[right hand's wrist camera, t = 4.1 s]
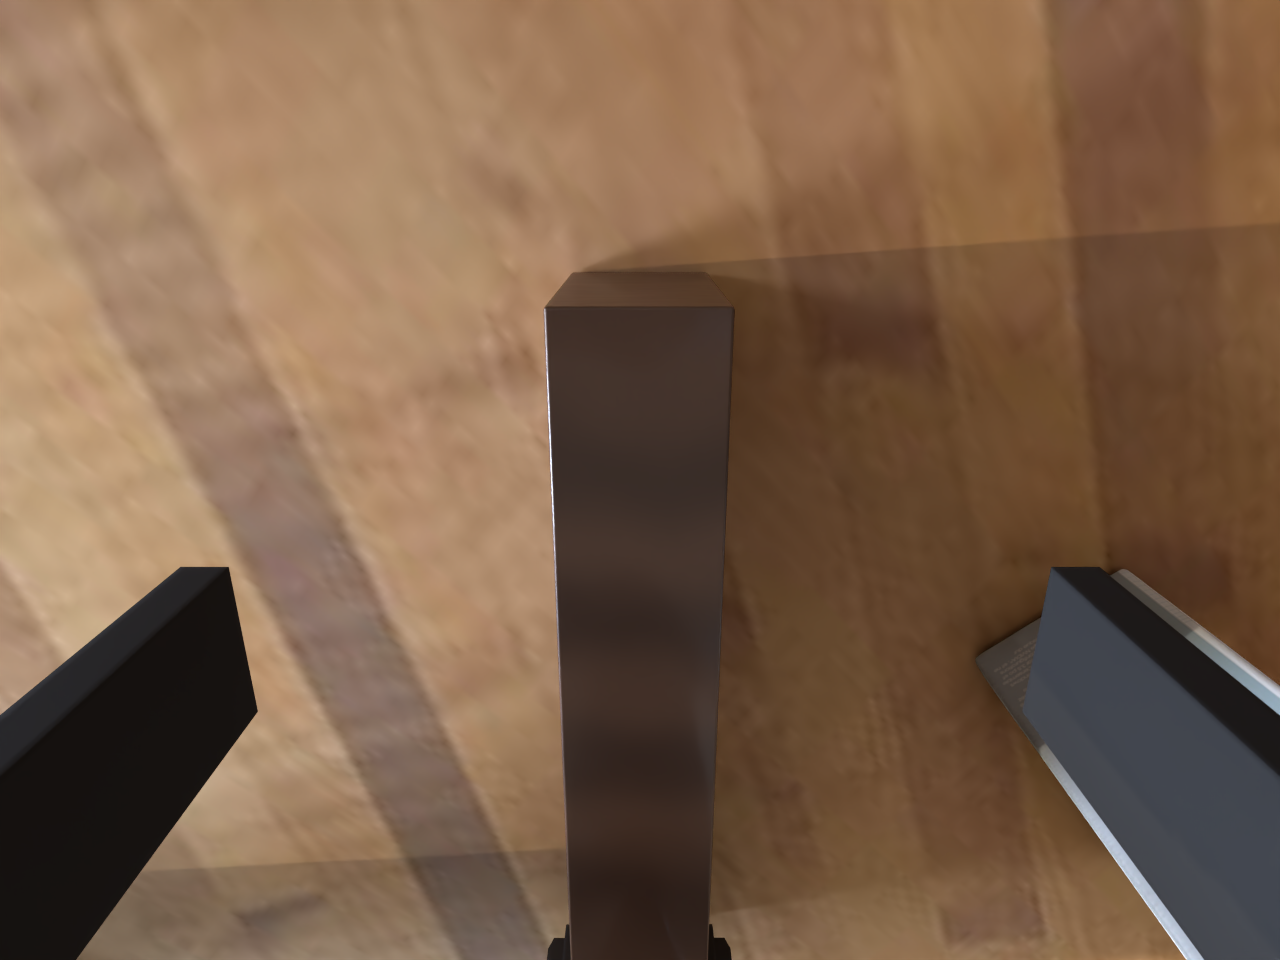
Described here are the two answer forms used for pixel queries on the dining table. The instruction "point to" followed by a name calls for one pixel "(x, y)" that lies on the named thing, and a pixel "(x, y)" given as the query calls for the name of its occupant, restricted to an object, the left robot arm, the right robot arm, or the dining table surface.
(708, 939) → the left robot arm
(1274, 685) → the hard drive box
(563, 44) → the dining table surface
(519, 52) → the dining table surface
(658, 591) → the walnut beam
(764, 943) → the dining table surface
